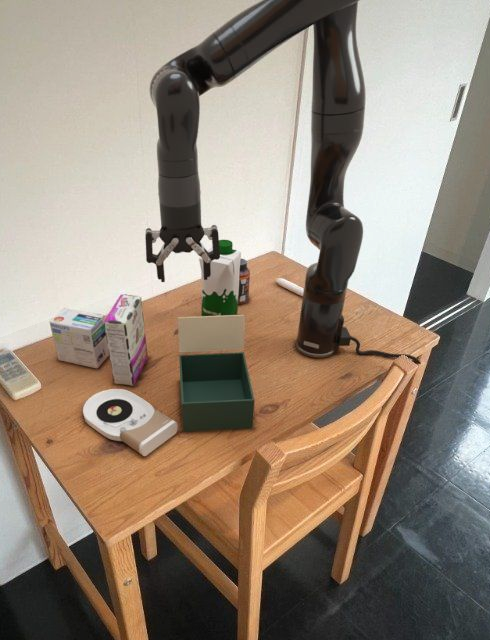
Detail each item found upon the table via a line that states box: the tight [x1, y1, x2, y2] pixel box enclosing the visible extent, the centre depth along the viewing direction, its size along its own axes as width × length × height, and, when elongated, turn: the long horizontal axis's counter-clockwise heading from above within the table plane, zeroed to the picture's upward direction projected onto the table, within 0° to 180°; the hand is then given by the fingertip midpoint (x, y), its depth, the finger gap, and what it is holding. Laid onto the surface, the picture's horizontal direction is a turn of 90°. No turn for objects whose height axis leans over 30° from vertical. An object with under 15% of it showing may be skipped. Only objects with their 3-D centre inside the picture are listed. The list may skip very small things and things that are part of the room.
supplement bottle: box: [238, 258, 251, 305], centre depth 137 cm, size 6×6×11 cm
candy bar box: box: [104, 294, 149, 387], centre depth 112 cm, size 11×5×16 cm, turn 169°
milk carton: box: [198, 239, 242, 316], centre depth 127 cm, size 9×9×20 cm
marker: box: [275, 277, 304, 298], centre depth 143 cm, size 18×2×2 cm, turn 40°
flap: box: [177, 314, 246, 354], centre depth 107 cm, size 14×8×1 cm
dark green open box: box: [178, 351, 255, 433], centre depth 106 cm, size 14×16×7 cm
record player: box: [82, 388, 179, 457], centre depth 103 cm, size 12×3×20 cm
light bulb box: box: [48, 307, 110, 369], centre depth 117 cm, size 11×7×11 cm, turn 71°
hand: (184, 279), depth 104 cm, fingers open, 8 cm apart
